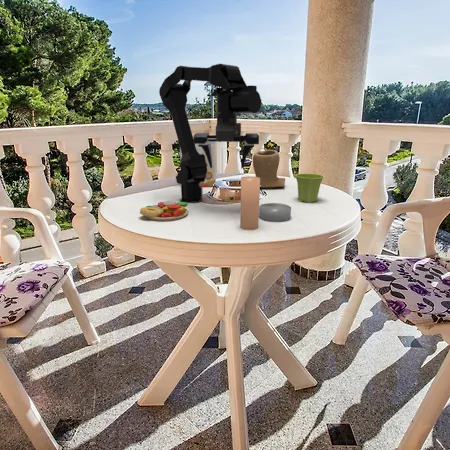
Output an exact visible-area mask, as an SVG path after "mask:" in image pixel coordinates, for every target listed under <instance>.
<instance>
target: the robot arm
mask: <svg viewBox="0 0 450 450" xmlns="http://www.w3.org/2000/svg"><path fill="white" fill-rule="evenodd" d="M174 69H175V70H174V71H173V72H172V73H170V74H169V75H168V76H167V77H166V78H165V79H164V80H163V82H162V84H161V86H160V87H159V91H158V92H159V93H158V94H159V96H160V100H161V102H162V105H163V106H164V107H165V108H166V109H167V111H169V113H170V115H171V120H172V122H173V126H174V130H175V133H176V137H177V140H178V145H179V149H180V148H181V152H182V158H181V161H180V162H179V166H180V170H179V171H178V173H177V175H175V179H176V180H175V182H176V184H179V185H180V189H181V190H180V191H181V192H180V193H181V199H180V201H179V202H187V203H200V201H201V200H202V199H203V195H204V194H203V192H204V191H203V187H202V186H201V182H204V181H205V177H206V173H207V166H208V165H207V163H206V160H205V156H204V154H199V153H198V152H197V150H196V147H195V144H199V145H198V146H199V147H202V148H203V150H204V152H205V154H206V156H207V159H208V162H209V165H210V168H212V154H211V144H210V143H209V141H215V143H216V142H218V143H221V142H228V143H231V142H233V143H235V142H236V143H237V142H239V143H244V145H243V151H242V157H241V165H240V167H241V168H240V169H241V170H242V169H244V165H245V163H246V160H247V159H246V158H247V156H248V154H249V152H250V150H251V148H255V145H260V135H259V134H258V133H257V132H246V133H245V135H242V123H241V122H238V114H256V113H258V112H259V111H260V109H261V107H262V98H261V94H260V93H259V91H258V90H257V89H258V88H257V85H247V84H246V81H245V79H244V77H243V75H242V73H241V70H240V67H239V66H238V65H231V64H224V63H217V64H213V65H210V66H209V67H196V66H195V67H194V66H186V65H179V66H176V68H174ZM181 81H183V83H180V82H181ZM192 81H195V82H196V81H198V82H207V83H209V84H210V85H212V86H215V87H216V88H215V89H214V90H213V92H212V93H211V97H216V125H215V134H214V135H209V134H210V133H209V132H196V133H194V134H195V135H194V139H193V136H192V134H193V133H192V129H191V126H190V121H189V119H188V114H187V111H186V107H187V102H188V96H187V95H188V94H189V92H190V91H191V85H192V84H191V83H192Z"/></svg>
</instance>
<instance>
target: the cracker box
mask: <svg viewBox="0 0 450 450" xmlns="http://www.w3.org/2000/svg"><path fill="white" fill-rule="evenodd" d="M195 134H196V133H192V136H193V139H194V135H195ZM209 135H215V134H214V133H209ZM209 143H210V144H211V154H212V168H210V165H209V162H208V159H207V156H206V154H205V152H204V150H203V148H202V147H199V146H198V145H199V144H195V147H196V150H197V152H198V153H199V154H204V156H205V160H206V163H207V165H208V166H207V173H206V177H205V181H204V182H201V186H202V188H207V187H209V188H210V187H212V186H213V184H214V183H215V182H216V181H217V180H216V179H217V177H216V172H217V171H216V141H209ZM179 157H180V158H179V160H180V161H181V158H182V152H181V148H180V147H179Z"/></svg>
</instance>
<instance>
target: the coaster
mask: <svg viewBox="0 0 450 450" xmlns="http://www.w3.org/2000/svg"><path fill="white" fill-rule="evenodd" d="M291 215H292V207H291V206H290V205H288V204H284V203H278V202H270V203H263V204H259V220H263V221H265V222H271V223H273V222H274V223H281V222H287V221H290V219H291Z"/></svg>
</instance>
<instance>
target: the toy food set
mask: <svg viewBox="0 0 450 450" xmlns="http://www.w3.org/2000/svg"><path fill="white" fill-rule="evenodd" d="M188 205H189V202H180V201H179V202H177V201H172V200H170V201H160V202H158V203H157V204H153V205H147V206H144V207H143V206H142V207H141V208H140V210H139V214H140V215H142V216H145V217H146V218H147V219H149V220H150V221H151V220H152V221H158V222H168V221H169V222H170V221H176V220H181V219H183V218H184V217H186V216H187V215H188V214H189V209H187V208H186V207H187V206H188Z"/></svg>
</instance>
